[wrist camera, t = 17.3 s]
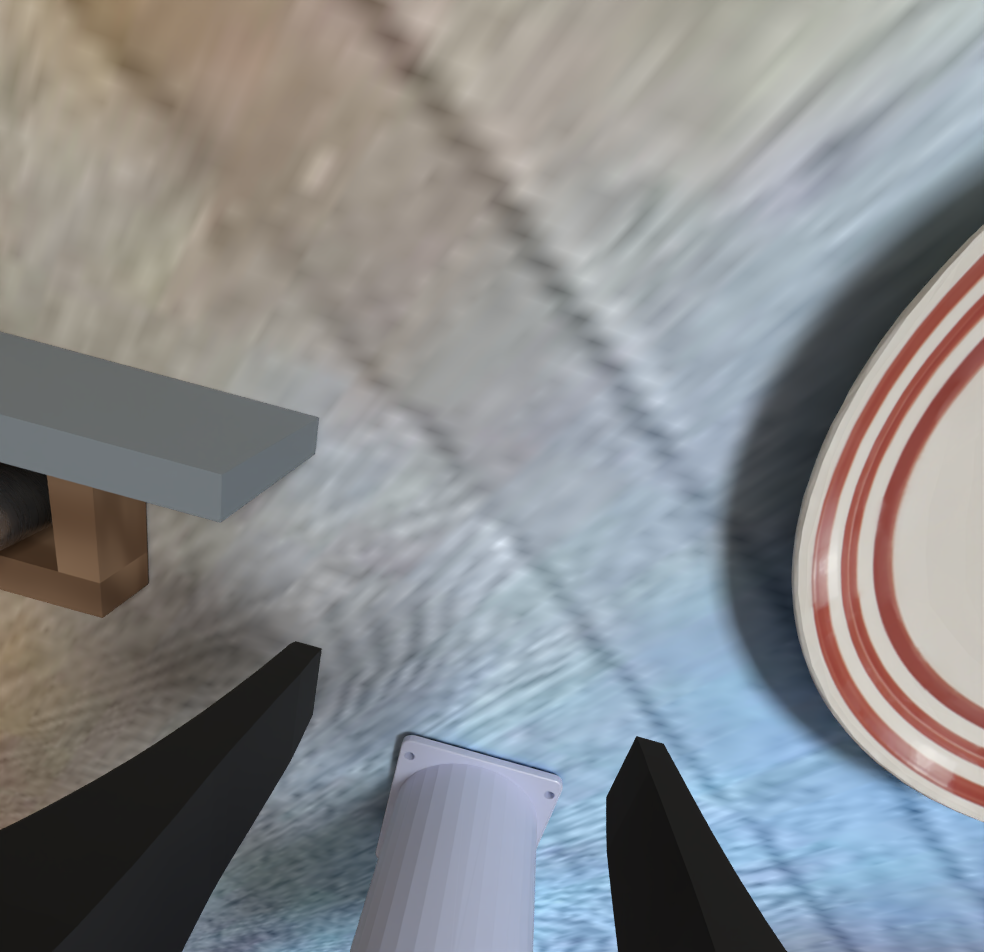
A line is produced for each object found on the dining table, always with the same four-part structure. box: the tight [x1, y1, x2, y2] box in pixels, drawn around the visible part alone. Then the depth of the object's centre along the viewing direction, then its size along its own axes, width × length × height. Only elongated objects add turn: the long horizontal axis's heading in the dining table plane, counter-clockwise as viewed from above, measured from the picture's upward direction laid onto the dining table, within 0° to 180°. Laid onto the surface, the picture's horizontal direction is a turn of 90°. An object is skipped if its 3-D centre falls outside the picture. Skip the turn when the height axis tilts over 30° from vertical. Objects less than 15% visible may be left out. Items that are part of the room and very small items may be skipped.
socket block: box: [0, 475, 148, 618], centre depth 20 cm, size 8×8×2 cm
